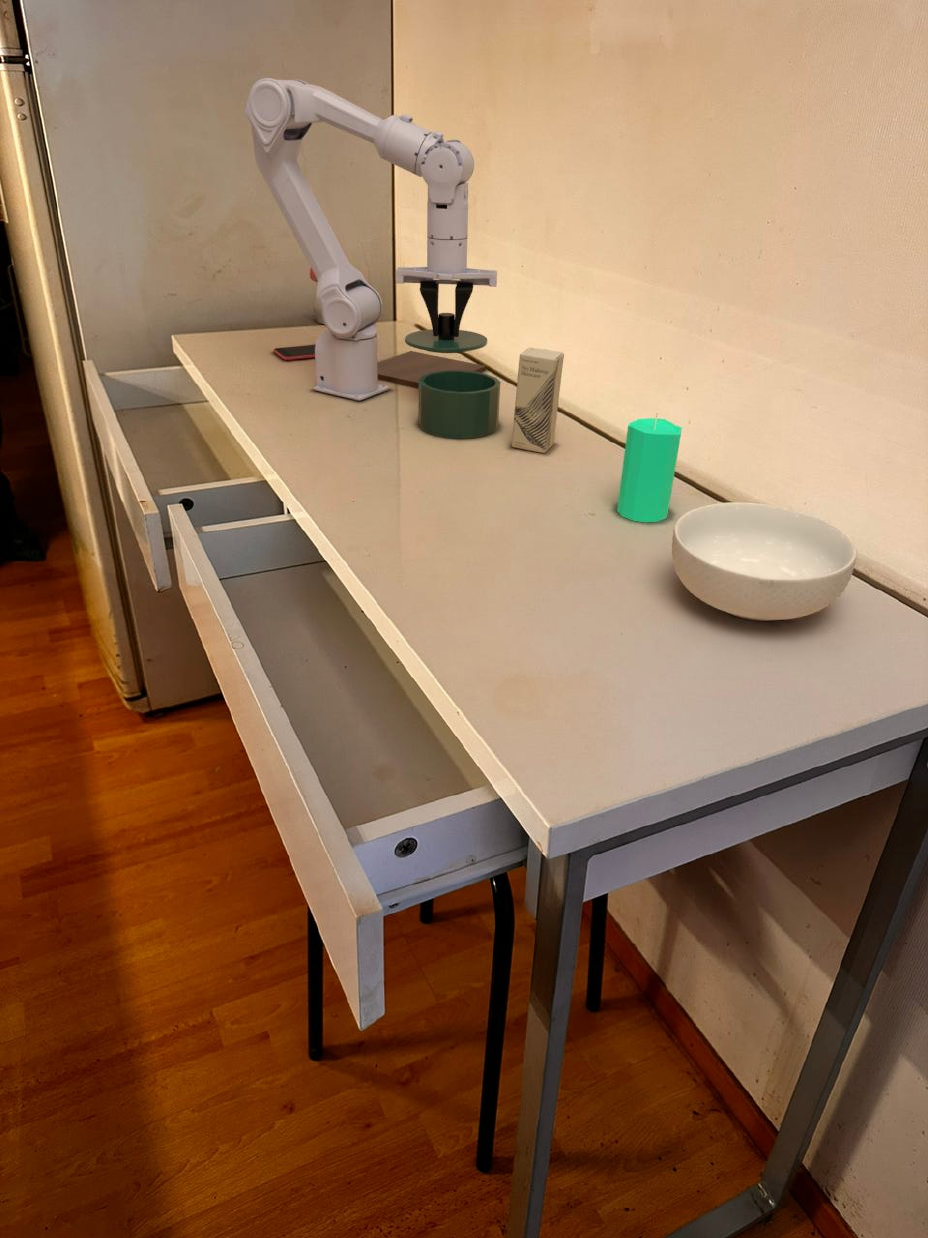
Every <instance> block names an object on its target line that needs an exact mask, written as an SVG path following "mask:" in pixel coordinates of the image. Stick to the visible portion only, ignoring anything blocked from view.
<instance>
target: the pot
mask: <svg viewBox="0 0 928 1238" xmlns="http://www.w3.org/2000/svg"><path fill="white" fill-rule="evenodd" d="M500 395H501V381H500V380H499V379H498V378H497V377H495V376H493V375H490V374H487V373H484V372H481V373H479V372H474V371H463V370H446V371H438V372H432V373H429V374H426V375H423V376H422V377H421V378H420V379H419V388H418V403H417V404H418V405H417V406H418V407H417V408H418V410H417V411H418V413H417V421H418V427H419V428H420V429H421V431H422V432H424V433H427V434H429V435H432V436H435V437H439V438H444V439H445V438H446V439H457V440H469V439H478V438H482V437H483V438H484V437H486V436H490V435H492V434H493V433H495V432H496V431H497V429H498V424H499V413H500V397H501V396H500Z"/></svg>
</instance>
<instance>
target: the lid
mask: <svg viewBox="0 0 928 1238" xmlns="http://www.w3.org/2000/svg"><path fill="white" fill-rule="evenodd" d="M438 317H439V322H438V326H439V332H438V336H433V328H432V329H423V330H417V331H414V332H411V333H407V335H406V336H405V337H404V342H405V344H406V345H407V346H409V347H411V348H414V349H417V350H422V351H426V352H431V353H438V354H458V353H459V354H460V353H465V352H471V351H476V350H480V349H482V348H484V347H486V346H487V345H488V337H486V336H485V335H483V334H482V333H478V332H474V331H471V330H464V329H459V336H458V337H454V322H455V313H452V312H439V313H438Z"/></svg>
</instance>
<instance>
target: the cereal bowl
mask: <svg viewBox="0 0 928 1238" xmlns="http://www.w3.org/2000/svg"><path fill="white" fill-rule="evenodd" d="M672 530H673V531H672V540H671V559H672V565H673V567H674V570H675V573H676V575H677V576H678V579H679V581H681V583H682V585H683V586H684V587H685V589H687V590H688V591H689V592H690V593H691V594H692V595H694V597H695V598H698V599H699V600H700V601H702V602H704V603H705V604H706V605H709V606H711V607H712V608H715V609H718V611H719V610H720V611H722V612H724V613H727V614H729V615H731V616H733V617H736V618H740V619H744V620H748V621H749V620H750V621H760V622H764V621H765V622H769V621H770V622H771V621H778V620H783V621H785V620H793V619H799V618H802V617H806V616H809V615H813V614H816V613H817V612H820V611H821V610H824V609H826V608H827V607H829V606H830V605H831V604H833V602H835V601H836V600H838V598H840V597H841V595H842V593H843V592H844V591H845V589H846V588H847V587H848V584H849V582H850V581H851V578H852V575H853V573H854V570H855V569H854V568H855V566H856V562H857V557H858V555H857V553H858V551H857V547H856V544H855V542H854V541H853V539H852V538H851V537H850V536H849V535H848V534H847V533H846V532H845V531H843V530H842V529H841V528H840V527H838V526H836V525H834V524H833V523H831V522H829V521H827V520H825V519H823V518H820V517H818V516H815V515H812V514H810V513H807V512H804V511H800V510H796V509H792V508H789V507H784V506H779V505H775V504H774V505H773V504H767V503H758V502H757V503H756V502H744V501H743V502H742V501H737V502H736V501H735V502H733V501H732V502H731V501H730V502H729V501H728V502H718V503H711V504H706V505H702V506H699V507H696V508H692V509H690V510H688V511H687V512H685V513H683V514H682V515H681V516H680V517H679V518H678V519H677V520H676V522H675V524H674V527H673V529H672Z"/></svg>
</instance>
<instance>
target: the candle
mask: <svg viewBox="0 0 928 1238" xmlns="http://www.w3.org/2000/svg"><path fill="white" fill-rule="evenodd" d="M658 414H659V412H656V415H655V417H654V418H652V417H651V418H650V417H649V418H638V419H635V420H633V421H631V422H629V424H628V425H627V432H626V440H625V446H624V453H623V454H624V455H623V461H622V462H623V463H622V468H621V475H620V477H621V478H620V483H619V484H620V485H619V492H618V498H617V499H618V500H617V505H616V512H618V514H619V515H620V516H621V517H623V518H625V519H628V520H630V521H634V522H640V523H659V522H662V521H663V520H665V519H667V517H668V514H669V509H670V502H671V496H672V491H673V485H674V484H673V483H674V478H675V473H676V467H677V460H678V455H679V447H680V441H681V436H682V429H683V427H681V426H679V425H676V424H675V423H672V422H671V421H669V420H668V419H666V418H658Z"/></svg>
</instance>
